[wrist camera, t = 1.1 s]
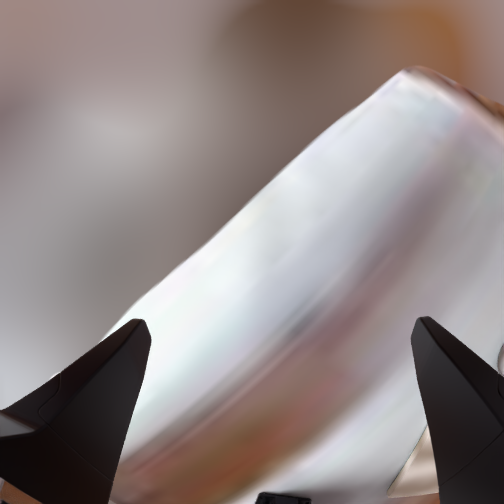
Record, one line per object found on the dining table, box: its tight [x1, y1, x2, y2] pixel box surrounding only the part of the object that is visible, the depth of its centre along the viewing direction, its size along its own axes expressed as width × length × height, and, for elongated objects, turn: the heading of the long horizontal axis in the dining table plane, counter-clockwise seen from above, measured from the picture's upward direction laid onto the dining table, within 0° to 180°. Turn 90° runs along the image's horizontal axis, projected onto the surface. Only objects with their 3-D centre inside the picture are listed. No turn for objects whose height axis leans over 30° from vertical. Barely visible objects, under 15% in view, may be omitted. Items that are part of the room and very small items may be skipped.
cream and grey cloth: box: [387, 425, 439, 498], centre depth 23 cm, size 16×22×1 cm
